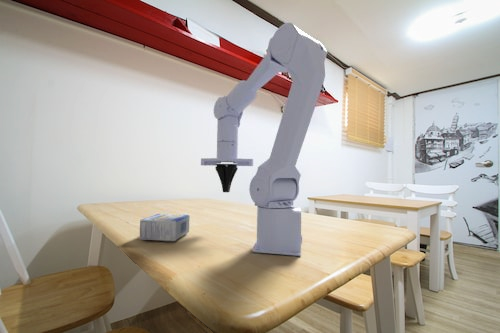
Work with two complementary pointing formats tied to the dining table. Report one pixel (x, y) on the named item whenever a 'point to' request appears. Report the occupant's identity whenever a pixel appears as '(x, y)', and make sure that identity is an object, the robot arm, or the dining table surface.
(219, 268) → the dining table surface
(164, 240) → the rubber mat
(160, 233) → the medicine box
